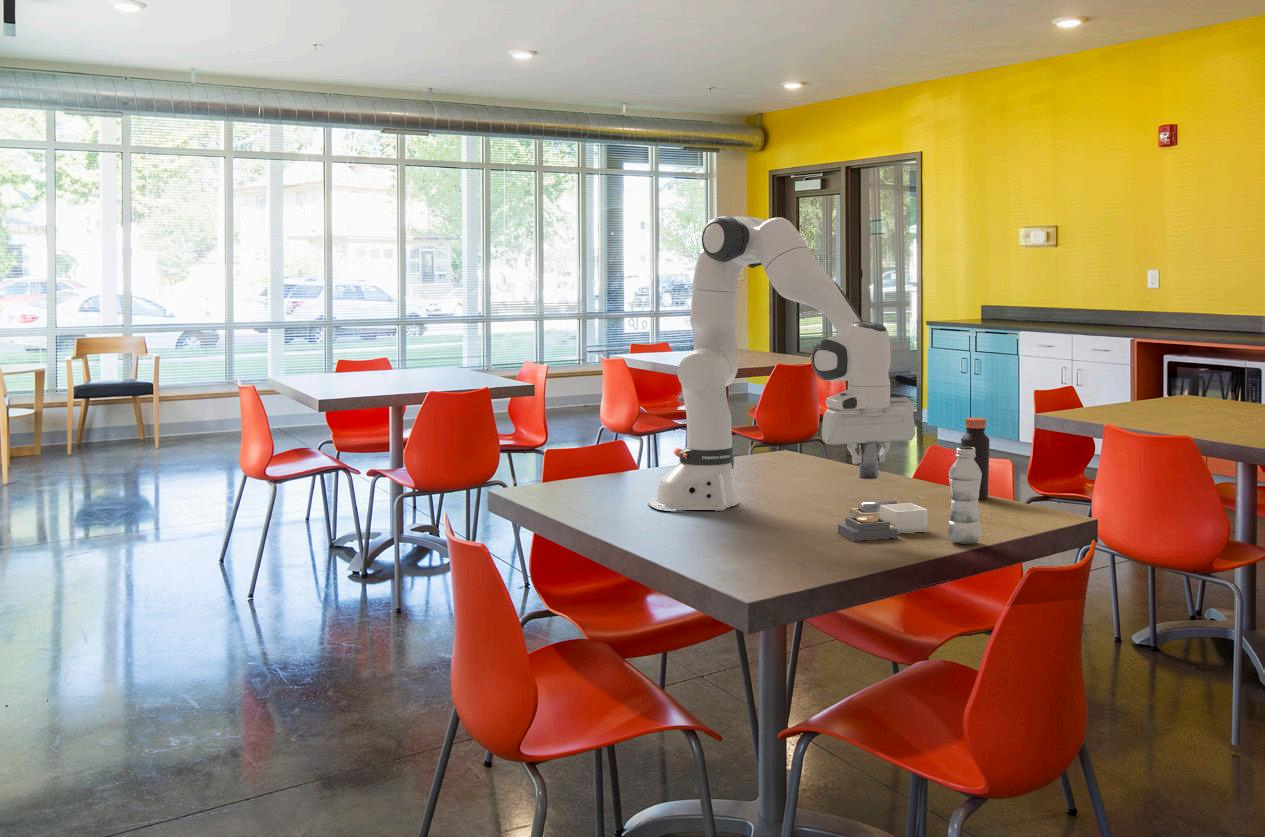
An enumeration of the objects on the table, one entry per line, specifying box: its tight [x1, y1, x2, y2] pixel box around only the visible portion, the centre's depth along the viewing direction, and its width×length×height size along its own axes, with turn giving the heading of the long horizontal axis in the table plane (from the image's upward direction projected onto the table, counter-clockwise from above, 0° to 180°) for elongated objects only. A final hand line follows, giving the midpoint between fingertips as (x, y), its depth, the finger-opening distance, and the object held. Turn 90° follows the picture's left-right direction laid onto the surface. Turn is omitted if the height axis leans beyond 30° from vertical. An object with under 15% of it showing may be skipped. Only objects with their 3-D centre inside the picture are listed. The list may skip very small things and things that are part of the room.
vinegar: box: [960, 417, 990, 500], centre depth 266 cm, size 7×7×20 cm
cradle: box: [837, 516, 898, 542], centre depth 228 cm, size 10×8×4 cm
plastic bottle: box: [947, 446, 982, 545], centre depth 219 cm, size 6×7×20 cm
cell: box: [858, 441, 879, 480], centre depth 226 cm, size 4×4×9 cm
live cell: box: [857, 500, 898, 513], centre depth 240 cm, size 9×4×4 cm, turn 103°
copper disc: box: [856, 516, 878, 523], centre depth 228 cm, size 5×5×1 cm
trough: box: [849, 507, 880, 517], centre depth 240 cm, size 11×6×3 cm, turn 103°
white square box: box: [880, 502, 929, 535], centre depth 233 cm, size 8×8×5 cm
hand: (868, 463), depth 226 cm, fingers closed on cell, 4 cm apart
